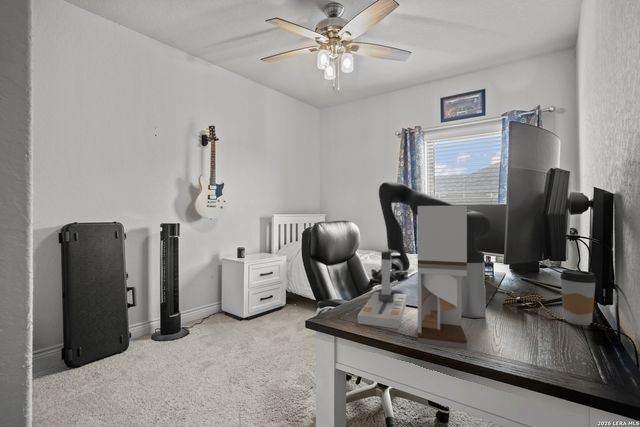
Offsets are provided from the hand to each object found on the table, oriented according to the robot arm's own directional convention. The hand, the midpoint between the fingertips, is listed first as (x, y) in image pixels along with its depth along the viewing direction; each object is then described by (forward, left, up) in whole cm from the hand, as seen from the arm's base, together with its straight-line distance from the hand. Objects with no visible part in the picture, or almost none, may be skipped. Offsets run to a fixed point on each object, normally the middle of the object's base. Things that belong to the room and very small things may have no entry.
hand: (385, 279), depth 102 cm
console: (0, +1, -10) cm, 11 cm away
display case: (-17, +17, -11) cm, 26 cm away
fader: (0, -3, -7) cm, 8 cm away
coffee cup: (-56, -9, -11) cm, 58 cm away
